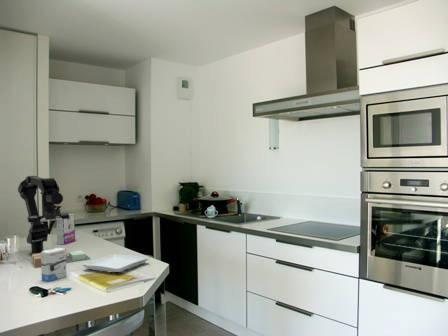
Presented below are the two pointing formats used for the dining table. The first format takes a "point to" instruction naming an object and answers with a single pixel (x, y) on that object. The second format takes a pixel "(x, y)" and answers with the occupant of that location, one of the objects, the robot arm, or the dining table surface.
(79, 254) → the sage green tile
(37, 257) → the deck
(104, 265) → the salad plate
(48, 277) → the ink box
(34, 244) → the robot arm
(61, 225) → the candy bar box
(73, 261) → the mat
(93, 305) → the dining table surface
